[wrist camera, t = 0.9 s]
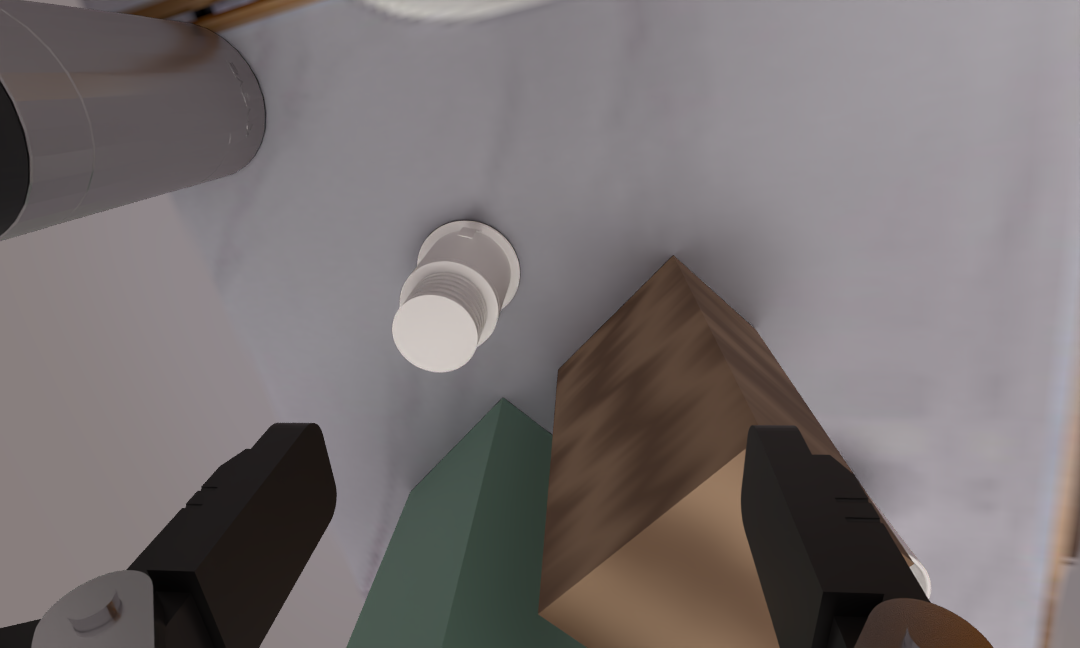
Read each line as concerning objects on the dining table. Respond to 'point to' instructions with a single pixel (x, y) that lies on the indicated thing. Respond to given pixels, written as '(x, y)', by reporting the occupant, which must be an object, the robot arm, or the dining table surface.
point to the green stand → (470, 548)
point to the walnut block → (663, 474)
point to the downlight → (455, 295)
